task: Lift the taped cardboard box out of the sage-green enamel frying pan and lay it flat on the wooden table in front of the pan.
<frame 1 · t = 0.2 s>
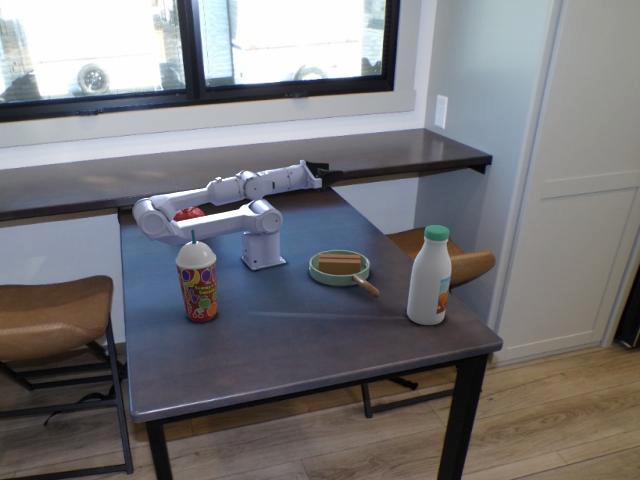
hand: (335, 171, 131), 21 cm above the table, tool horizontal, fingers open, 7 cm apart
taped cardboard box: (339, 264, 128), in the pan
milk bottle: (425, 317, 110), on the table
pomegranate: (190, 233, 154), on the table
pan: (339, 273, 129), on the table
smoothie: (202, 316, 113), on the table
pan handle: (365, 285, 118), point 2 cm above the table
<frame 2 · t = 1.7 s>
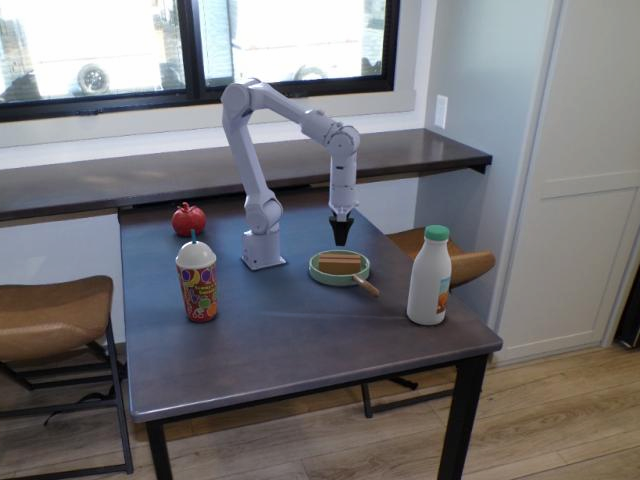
hand: (340, 239, 124), 9 cm above the table, tool pointing down, fingers open, 7 cm apart
nothing on the table moved.
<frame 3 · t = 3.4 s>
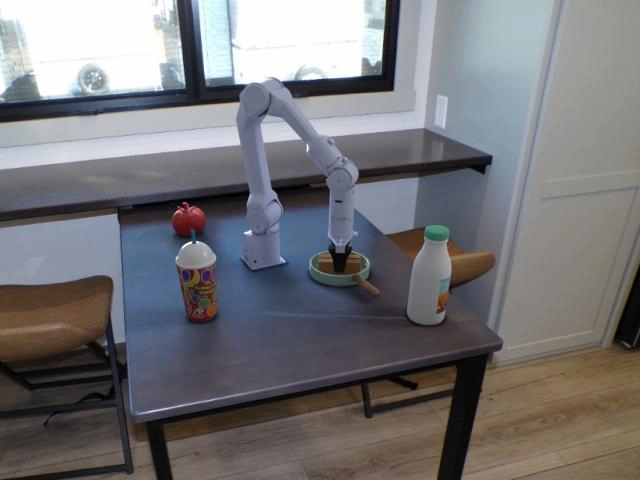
hand: (339, 267, 128), 2 cm above the table, tool pointing down, fingers closed on taped cardboard box, 4 cm apart
taped cardboard box: (339, 264, 128), in the pan, touching gripper
everything else where it was.
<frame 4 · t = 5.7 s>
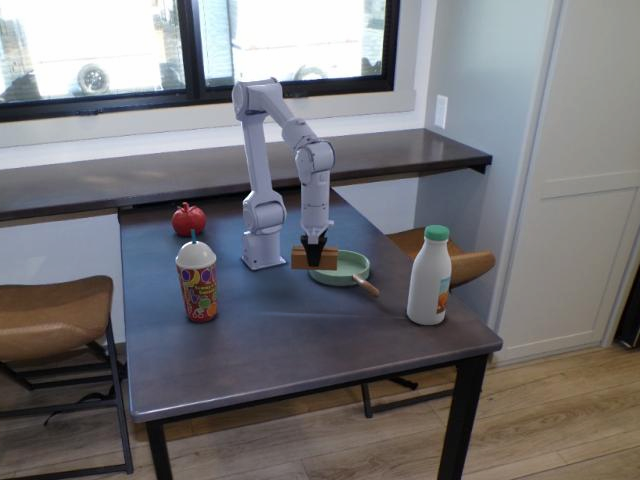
hand: (314, 260, 115), 9 cm above the table, tool pointing down, fingers closed on taped cardboard box, 4 cm apart
taped cardboard box: (314, 257, 115), point 10 cm above the table, touching gripper
everything else where it was.
when the fingers open (1 cm above the table, at t = 8.3 s): taped cardboard box stays where it is, on the table.
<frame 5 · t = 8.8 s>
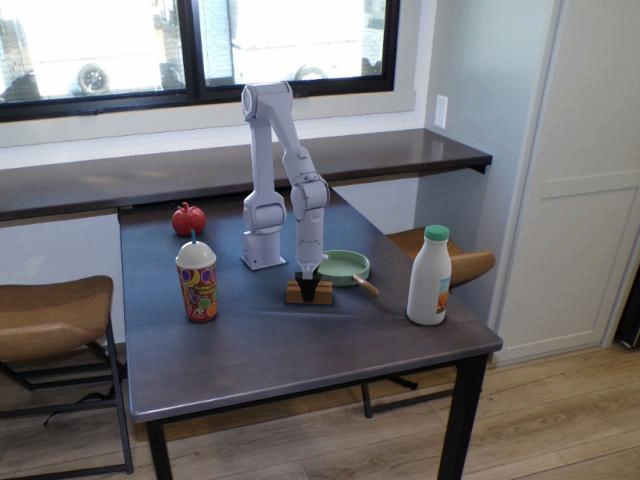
hand: (309, 292, 117), 2 cm above the table, tool pointing down, fingers open, 7 cm apart
taped cardboard box: (309, 292, 117), on the table
everything else where it was.
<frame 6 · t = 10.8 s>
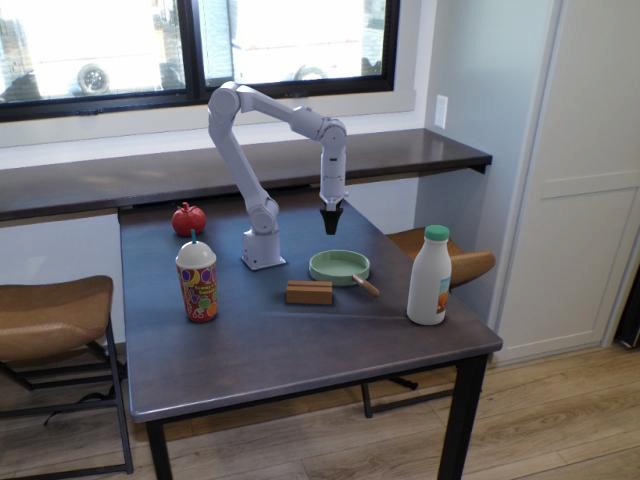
hand: (331, 228, 129), 9 cm above the table, tool pointing down, fingers open, 7 cm apart
nothing on the table moved.
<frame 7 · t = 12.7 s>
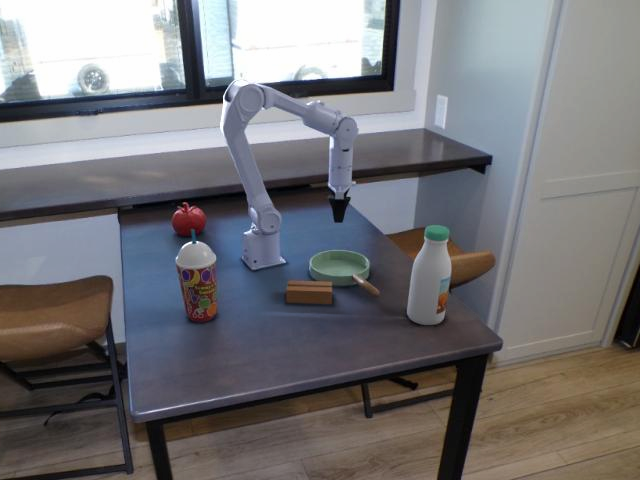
hand: (338, 216, 136), 9 cm above the table, tool pointing down, fingers open, 7 cm apart
nothing on the table moved.
at the end: taped cardboard box inside the target area (0.6 cm from its centre), on the table; taped cardboard box touching table; the gripper is holding nothing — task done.
